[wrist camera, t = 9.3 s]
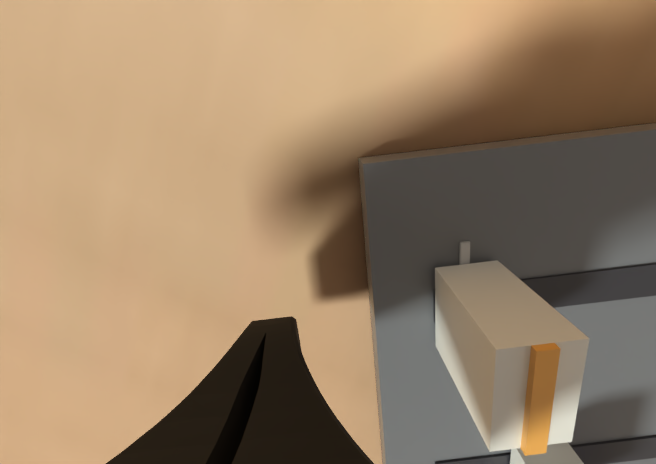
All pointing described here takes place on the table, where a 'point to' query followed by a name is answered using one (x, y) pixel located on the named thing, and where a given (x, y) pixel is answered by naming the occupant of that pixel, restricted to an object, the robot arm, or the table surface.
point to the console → (529, 266)
